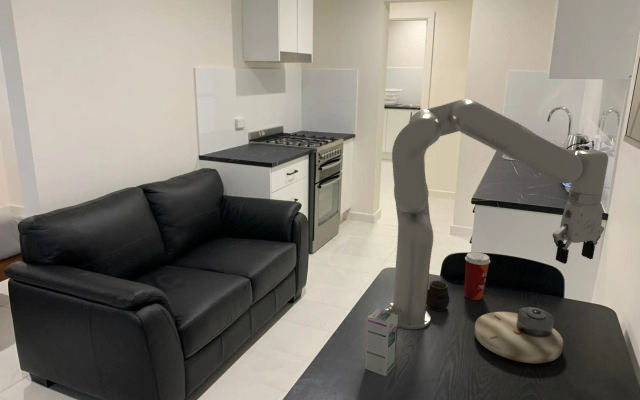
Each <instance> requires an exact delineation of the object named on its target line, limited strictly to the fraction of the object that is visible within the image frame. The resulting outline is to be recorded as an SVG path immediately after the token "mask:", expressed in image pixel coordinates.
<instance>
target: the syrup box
mask: <svg viewBox="0 0 640 400" xmlns="http://www.w3.org/2000/svg"><path fill="white" fill-rule="evenodd" d="M386 309H387V308H382V307H381V308H380V307H377V308H376V309H375V310H374V311H372V312H371V314H369V315H368V316H367V317H366V335H365V336H366V337H365V341H366V342H365V364H364V365H365V367H364V368H365V369H366V370H368V371H369V372H370V371H371V372H373V373H376V374H378V375H381V376H384V377H387V376H388V374H389V373H390V372H391V371H392V369H393V368H394V367H395V366H396V359H397V358H396V356H397V342H398V341H397V340H398V326H397V325H398V314H397V313H395V312H392V311H389V310H386Z"/></svg>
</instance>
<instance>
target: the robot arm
mask: <svg viewBox="0 0 640 400" xmlns="http://www.w3.org/2000/svg"><path fill="white" fill-rule="evenodd" d="M457 132H460V133H461V134H462V135H463V134H464V135H465V136H467V137H469V138H471V139H473V140H475V141H477V142H479V143H482V145H485V146H487V147H489V148H491V149H493V150H495V151H496V152H498V153H501V155H504V156H506V157H507V158H510V159H513V160H515V161H516V162H518V163H520V164H521V163H522V164H523V165H525V166H527V167H529V168H531V169H532V170H535V171H536V172H537V173H540V174H542V175H544V176H546V177H548V178H550V179H552V180H554V181H556V182H558V183H562V184H570V185H569V192H568V196H567V202H566V204H565V207H564V210H563V213H562V216H561V217H562V218H561V222H560V225H559V226H560V227H559V228H558V229H557V230H555V231H554V232H553V233H552V239H553V242H554V243H555V246H556V247H557V248H556V249H557V250H556V253H555V261H557V262H559V263H561V264H562V265H565V264H567V263H568V258H569V251H570V249H568V248H569V247H570V245H572V243H574V244H576V243H578V244H579V243H582V250H581V256H582V257H584V258H586V259H589V260H593V258H594V255H595V248H596V246H598V245H597V244H598V241H599V240H600V239H601V235H602V234H603V232H604V231H605V227H603V226H602V225H603V223H602V222H603V205H602V197H603V190H604V186H605V180H606V174H607V170H608V165H609V155H608V153H606V152H604V151H600V150H594V149H581V150H579V149H578V150H577V149H570V148H564V147H561V146H558V145H557V144H554V143H552V142H551V141H550V140H549V141H548V140H547V139H545V138H544V137H542V136H540V135H538V134H536V133H535V132H533V131H532V130H530V129H529V128H528V127H526V126H525V125H522V124H520V123H519V122H517V121H515V120H512V119H511V118H509V117H507V116H505V115H503V114H501V113H499V112H497V111H495V110H493V109H491V108H490V107H487V106H485V105H483V104H482V103H479V102H477V101H475V100H473V99H470V98H463V99H457V100H455V101H451V102H447V103H444V104H441V105H437V106H433V107H428V108H425V109H422V110H419V111H416V112H415V113H414V114H413V115H412V116H411V117H410V119H409V121H408V123H407V124H406V126H404V127H403V128H402V129H401V130H400V131H399V133H398V134H397V136H396V138H395V140H394V141H393V146H392V150H391V151H392V152H391V157H392V158H391V160H392V162H391V164H392V175H393V184H394V186H393V197H394V201H395V208H396V215H397V218H396V219H397V243H396V244H397V246H396V256H395V257H396V258H395V274H394V275H395V276H394V289H393V301H392V302H390V303H389V306H388V307H386V308H385V309H386V310H389V311H392V312H395V313H397V314H398V325H397V328H401V329H405V330H421V329H424V328H427V327H428V326H429V325H430V323H431V316H430V313H429V312H428V311H427V304H426V303H427V292H428V289H429V282H430V281H429V279H430V269H431V268H430V266H431V258H432V250H433V247H434V245H433V244H434V230H433V226H432V225H433V224H432V221H431V215H430V206H429V188H428V184H427V178H426V168H425V167H426V165H425V154H426V152H427V150H428V149H429V148H430V147H431V146H432V145H433V144H435V143H436V142H437V141H439V139H440V138H441V137H443V136H447V135H451V134H454V133H457ZM564 241H566V242H564Z"/></svg>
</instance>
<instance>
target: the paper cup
mask: <svg viewBox="0 0 640 400" xmlns="http://www.w3.org/2000/svg"><path fill="white" fill-rule="evenodd" d="M464 259H465V272H464V273H465V275H464V297H466V298H467V299H470V300H473V301H474V300H475V301H477V300H478V301H479V300H482V299H483V294H484V290H485V285H486V281H487V275H488V274H487V273H488V271H489V270H488V269H489V264H490V263H491V260H490V256H489V255H487V254H486V253H482V252H477V251H473V252H472V251H471V252H468V253H467V254H466V256H465V257H464Z"/></svg>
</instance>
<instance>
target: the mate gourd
mask: <svg viewBox="0 0 640 400" xmlns="http://www.w3.org/2000/svg"><path fill="white" fill-rule="evenodd" d="M448 289H449V285H448V283H447V282H445V281H442V280H436V279H435V280H431V281H429V285H428V292H427V303H426V307H428V308H429V309H431V310H432V311H436V312H440V311H443V310H445V309H447V308H448V305H449V304H450V296H449V290H448Z"/></svg>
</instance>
